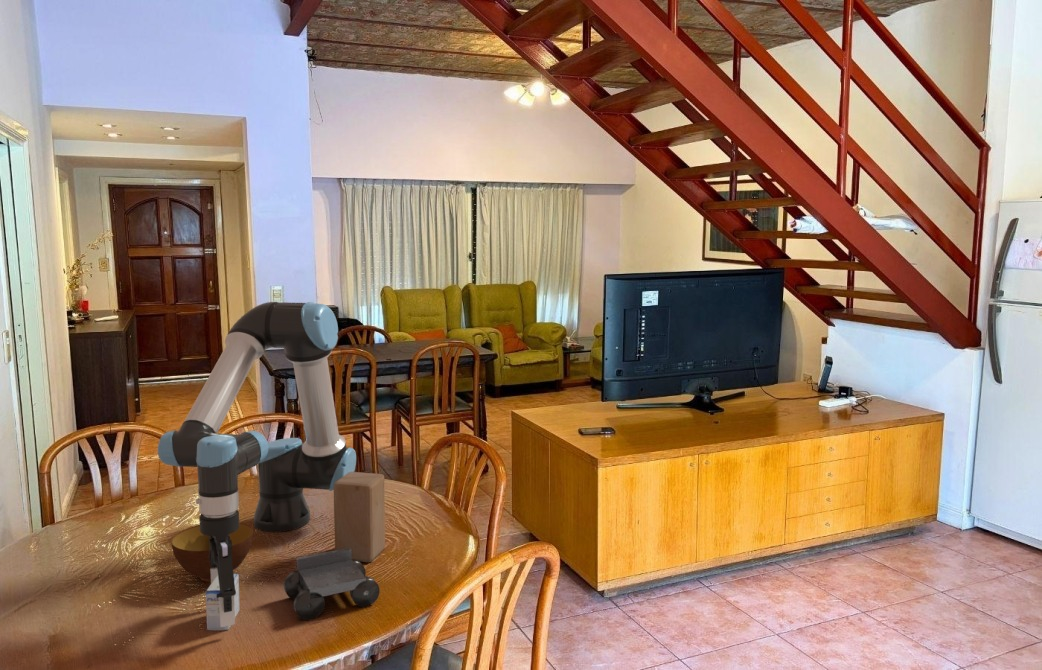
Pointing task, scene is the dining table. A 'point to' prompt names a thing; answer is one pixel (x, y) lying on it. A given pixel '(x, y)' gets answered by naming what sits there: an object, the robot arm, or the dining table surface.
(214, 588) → the medicine box
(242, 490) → the dining table surface
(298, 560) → the trolley
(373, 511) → the wooden block
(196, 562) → the bowl
